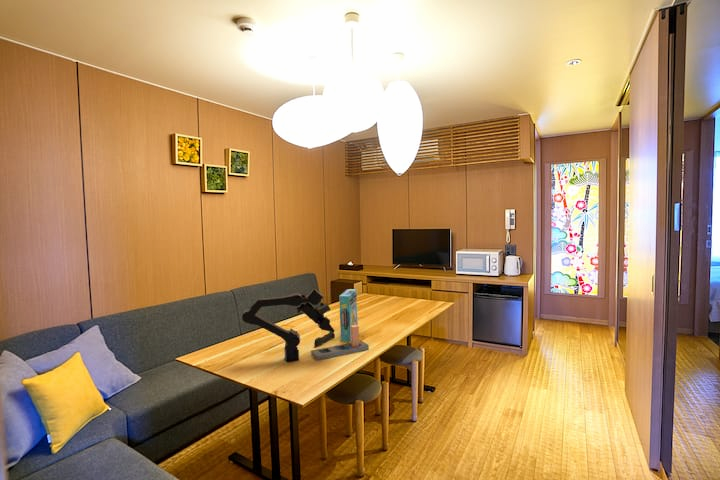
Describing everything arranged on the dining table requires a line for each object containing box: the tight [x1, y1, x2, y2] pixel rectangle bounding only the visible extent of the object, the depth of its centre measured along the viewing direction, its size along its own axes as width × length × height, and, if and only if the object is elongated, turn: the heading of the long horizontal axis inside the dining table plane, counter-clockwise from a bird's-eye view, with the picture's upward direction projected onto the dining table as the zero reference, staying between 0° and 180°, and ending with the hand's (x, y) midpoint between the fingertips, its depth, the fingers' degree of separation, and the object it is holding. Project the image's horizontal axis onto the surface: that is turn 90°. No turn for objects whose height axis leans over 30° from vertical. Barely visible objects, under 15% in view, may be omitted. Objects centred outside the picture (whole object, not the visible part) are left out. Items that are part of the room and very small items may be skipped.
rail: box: [310, 340, 370, 361], centre depth 204 cm, size 30×9×2 cm, turn 117°
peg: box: [350, 325, 360, 347], centre depth 208 cm, size 4×4×13 cm
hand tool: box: [313, 331, 336, 348], centre depth 221 cm, size 19×4×5 cm, turn 150°
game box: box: [338, 288, 359, 343], centre depth 230 cm, size 20×6×27 cm, turn 168°
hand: (331, 329), depth 201 cm, fingers open, 9 cm apart
